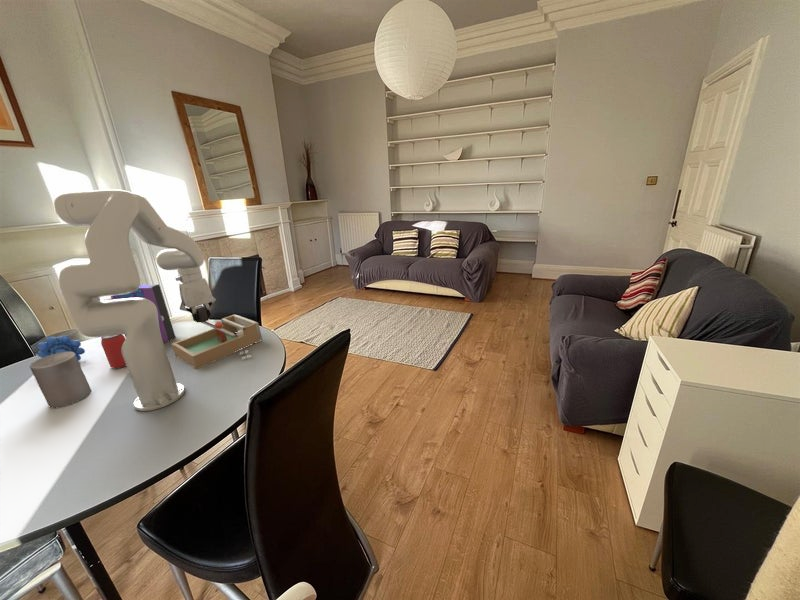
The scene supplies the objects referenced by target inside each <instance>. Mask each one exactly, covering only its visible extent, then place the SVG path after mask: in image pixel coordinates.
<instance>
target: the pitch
mask: <svg viewBox="0 0 800 600" xmlns="http://www.w3.org/2000/svg"><path fill="white" fill-rule="evenodd" d="M220 320H221V321H220V322H221V323H222V327H221V328H223V329H225V330H227V331H229V332H232V333H235V332H238V331H239V330H243V332H244V335H242V336H239V337H237V336H235V337H232V336H230V335H228V334H226V333H225V334H226V338H227V341H225V342H220V341H218V338H217V334H216V331H215V329H214V328H211V329H208V330H205V331H203V332H200V333H198V334H195V335H191V336H189V337H187V338H183V339H181V340H179V341H174V342H172V343H171V347H172V351H173V353H174V356H175V357H177V358H178V357H179V358H178V359H179V360H181V359H182V361H183V362H185V363H186V364H187V365H189V366H191V367H192V366H193V367H192V368H194V369H196V370H198V369H200V368H202V367H205V366H206V364H207V365H209V364H212V363H213V361H214V362H216V361H218V359H219V360H221V359H223V358H225V357H224V356H226V355H228V356H230V355H232V354H231V353H233V352H235V351H237V350H239V349H241V348H243V347H246V346H248V345H250V344H253V343H255V342H258V341H260V340H262V341H263V338H262V333H261V329H260V324H259V323H260V322H257V321H255V320H252V319H249V318H247V317H244V316H241V315H239V314H238V315H237V314H232V315H229V316H225V317H223V318H220ZM258 343H259V342H258ZM237 352H238V351H237ZM235 353H236V352H235ZM229 354H230V355H229ZM233 354H234V353H233ZM222 357H223V358H222ZM226 357H227V356H226ZM220 358H221V359H220ZM215 360H216V361H215ZM211 362H212V363H211ZM204 365H205V366H204Z"/></svg>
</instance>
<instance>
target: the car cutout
mask: <svg viewBox="0 0 800 600" xmlns="http://www.w3.org/2000/svg"><path fill="white" fill-rule="evenodd" d="M245 349H246V348H244V347H243V349H242V350H241V351H239V355H240V354H242V353H244V354H243V355H244V356H241V360H242V359H245V358H247V357H251V358H252V355H251V354H247V353H246V352H248V351H249V350H245ZM245 360H246V359H245Z"/></svg>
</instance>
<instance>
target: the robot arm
mask: <svg viewBox="0 0 800 600" xmlns="http://www.w3.org/2000/svg"><path fill="white" fill-rule="evenodd" d="M53 208H54V212H55V214H56V216H58V218H60V219H61V221H63V222H64V223H66V224H69V225H70V226H75V227H80V226H81V227H83V226H87V227H88V226H89V227H88V228H87V231H86V233H85V236H84V245H85V249H86V251H87V256H88V258H89V260H87V261H85V260H84V261H75V262H72V263H68V264H67V265H65V266H64V267H63V268H62V269H61V270H60V272H59V277H58V283H59V284H58V285H59V288H60V291H61V294H62V296H63V299H64V301H65V304H66V306H67V309H68V311H69V314H70V316H71V319H72V321H73V323H74V325H75V327H76V330H78V332H79V333H80V334H82V335H83V336H86V337H87V338H88V337H90V338H101V337H102V336H110V335H120V334H122V335H124V336H125V335H126V337H125V341H124V343H123V345H122V348H121V352H122V356H123V358H124V361H125V363H126V366H125V367H126V368H127V372H128V373H129V376H130V380H131V381H132V384H133V386H134V389H135V392H136V394H137V397H136V398H135V400H134V401H133V407H134V409H135V410H137V411H141V412H149V411H154V410H158V409H161V408H165V407H166V406H168V405H171V404H173V403H174V402H176V401H177V400H179V399H180V398H181V397H182V396H183V395H184V393H185V392H186V389H185V386H184V384H182V383H180V382H179V383H178V382H177V381H176V378H175V375H174V371H173V369H172V365H171V362H170V359H169V357H168V353H167V350H166V347H165V344H164V342H163V340H162V337H161V333H160V329H159V322H158V312H157V308H156V306H155V304H154V303H153V302H152V301H150V300H148V299H145V298H125V299H115V300H112V299H111V300H110V299H109V300H107V299H106V300H101V297H111V296H114V295H123V294H128V293H132V292H135V291H136V290H138V288H139V287H140V285H141V278H140V274H139V270H138V268H137V264H136V260H135V258H134V255H133V252H132V249H131V244H130V240H129V238H130V231H133V232H134V233H135V234H136V236H137V237H138V238H139V239H140V240H141V241H142V242H143V243H144V244H148V245H151V246H155V247H161V248H167V249H163V250H160V251H159V252H158V253H157V255H156V259H155V260H156V264H157V266H158V267H159V268H160V269H163V270H166V271H177V273H178V275H177V276H175V279H174V280H175V281H176V282H177V281H179V284H178V285H179V288H178V289H179V295H180V300H181V303H180V306H179V310H180V311H184V312H187V313H190V314H191V316H192V317H191V318H192V319H193V321H194V322H196V323H201V322H200V320H199V316H198V313H196V309H195V307H197V306H200V305H202V306H205V308H206V312H207V316H208V319H209V320H210V319H211V315H212V314H211V311H210V310H211V307H212V305H213V304H214V303H215V302H216V300H217V299H216V298H215V297H214V295H212V290H211V288H210V286H209V283H208V281H207V280H206V278H205V277H203V275H202V271H201V266H203V264H204V261H205V260H204V259H205V257H204V254H203V252H202V249H200V247H199V246H198V243H197V242H196V241H195V240H194V239H193V238H192V237H191V236H189V235H187V234H185V233H184V232H181V231H180V230H177V229H175V228H173V227H170V226H168V225H167V224H166V223H165V222H164V220H163V219H162V217H160V214H158V212H157V211H156V209H155V208H154V207H153V205H151V203H150V202H149V201H148V200H147V199H146V197H144V196H143V195H141V194H139V193H135V192H134V193H133V192H131V191H128V190H123V189H95V190H79V191H74V190H73V191H64V192H62V193H58V195H57V196H55V198H54V200H53Z"/></svg>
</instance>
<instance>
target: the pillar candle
mask: <svg viewBox="0 0 800 600" xmlns="http://www.w3.org/2000/svg"><path fill="white" fill-rule="evenodd" d="M29 369H30V371H31V373H32V374H33V377H34V379H35V381H36V383H37V385H38V387H39V390H40V391H41V393H42V395H43V397H44V398H45V399H44V400H45V401H46V403H47V405H48V407H49V406H50V407H49V408H51V407H54V408H53V409H56V408H55V407H59V408H63V406H64V407H67V406H71V405H73V404H76V403H79V402H80V401H81V400H83V399H85V398H86V397H87V395H88V396H89V395H90V394H91V393H90V392H92V389H91V387H90V385H89V382H88V380H87V377H86V375H85V374H84V372H83V369H82V366H81V364H80V361H78V360H77V357H76V355H75V353H74V352H61V353H56V354H52V355H49V356H46V357H43V358H41V357H40V358H39V359H37V360H35V361H33V362H31V364H30V365H29ZM89 393H90V394H89Z"/></svg>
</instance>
